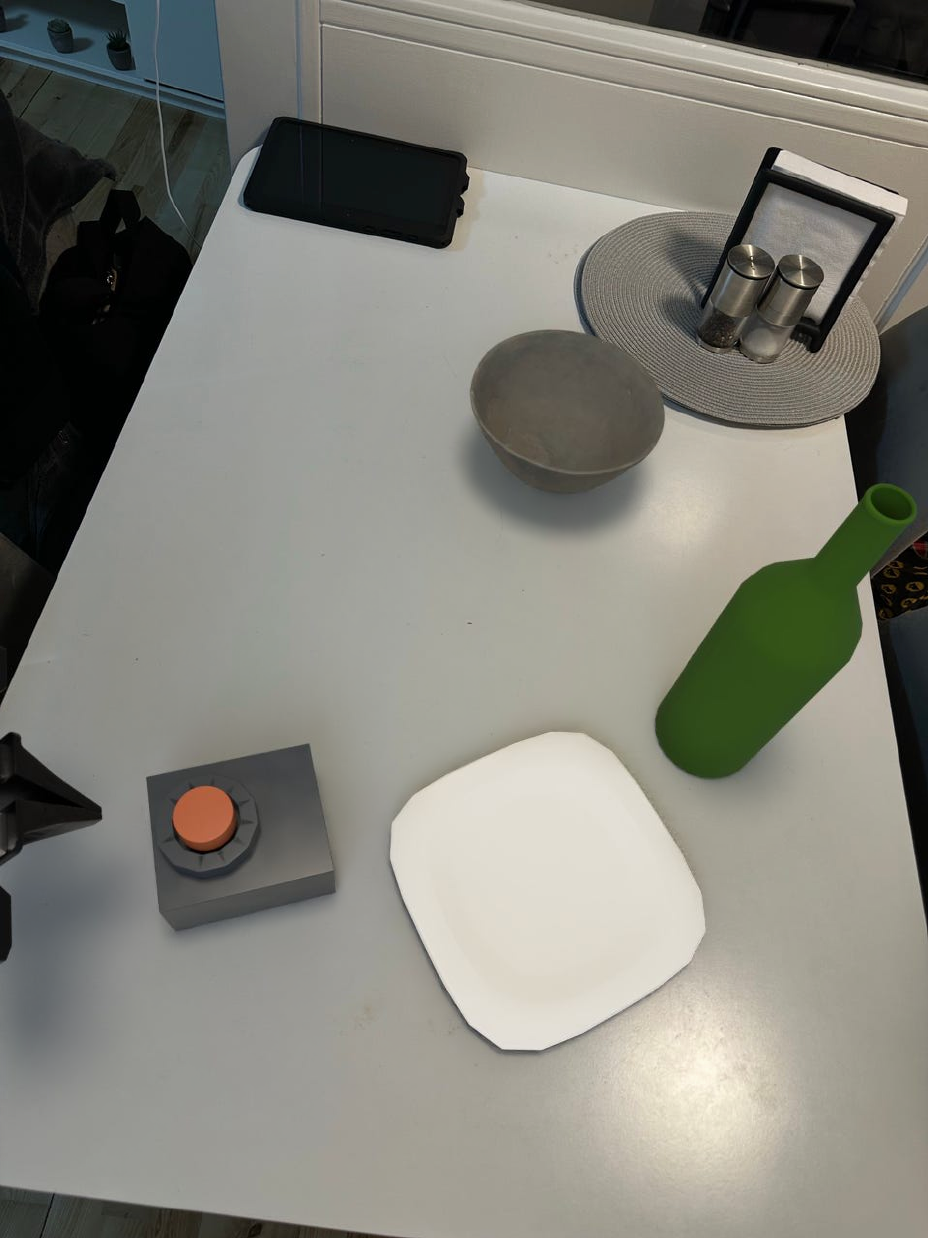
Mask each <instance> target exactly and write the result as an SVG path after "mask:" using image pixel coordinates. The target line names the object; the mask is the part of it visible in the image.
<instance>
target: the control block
mask: <svg viewBox="0 0 928 1238" xmlns="http://www.w3.org/2000/svg"><path fill="white" fill-rule="evenodd" d="M145 781H146V790H147V801H148V812H149V821H150V831H151V841H152V842H151V843H152V852H153V862H154V872H155V873H154V874H155V880H156V881H155V882H156V884H155V885H156V892H157V894H156V895H157V903H158V912H159V914H160V915H161V916H162V918H164V920H165V921H166V922H167V923H168V925H169V926H170V927H171V928H172V930H173V931H174V932H175V933H176V932H180V931H184V930H188V929H193V928H197V927H201V926H204V925H208V924H209V925H210V924H214V923H217V922H221V921H222V922H223V921H225V920H230V919H233V918H236V917H237V918H238V917H242V916H246V915H249V914H250V915H251V914H254V913H257V912H262V911H266V910H270V909H274V908H278V907H283V906H286V905H291V904H295V903H298V902H302V901H308V900H310V899H314V898H315V899H316V898H319V897H322V896H328V895H331V894H332V895H333V894H336V893H337V887H336V886H337V885H336V884H337V883H336V874H335V873H336V872H335V866H334V860H333V857H332V851H331V845H330V841H329V838H328V831H327V826H326V821H325V816H324V810H323V806H322V799H321V796H320V790H319V785H318V781H317V775H316V770H315V766H314V760H313V755H312V749H311V744H310V743H304V744H299V745H294V746H288V747H284V748H280V749H279V748H278V749H275V750H269V751H265V752H260V753H254V754H250V755H246V756H240V757H235V758H231V759H226V760H221V761H217V762H211V763H207V764H202V765H196V766H193V767H192V766H191V767H187V768H182V769H178V770H173V771H168V772H163V773H157V774H153V775H149V776H146V777H145ZM201 786H212V787H216V788H219V789H220V790H222V791H224V792H225V793H226V794H227V795H228V796H229V798H230V800H231V802H232V805H233V807H234V810H235V813H236V819H237V822H236V828H235V831H234V833H233V835H232V836H231V838H230V839H229V840H228V841H227V842H226V843H225V844H224V845H222V846H221V847H219V848H217V849H214V850H210V851H198V850H194V849H192V848H190V847H188V846H187V845H186V844H185V843H184V842H183V841H182V839H181V838H180V836H179V834H178V832H177V831H176V829H175V826H174V823H173V812H174V809H175V806H176V804H177V802H178V801H179V799H180V798H181V797H182V796H183V795H184V794H185V793H187V792H188V791H190V790H192V789H194V788H197V787H201Z"/></svg>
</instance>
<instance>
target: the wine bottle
mask: <svg viewBox="0 0 928 1238" xmlns="http://www.w3.org/2000/svg"><path fill="white" fill-rule="evenodd" d="M917 515H918V507H917V503H916V502H915V500H914V498H913V497H912V496H911V495H910V493H908V492H907V491H905V490H904V489H903V488H900V487H899V486H897V485H894V484H891V483H884V482H883V483H877V484H874V485H872V486H870V487H869V488H868V489H867V490H866V491H865V493H864V496H863V497H862V498H861V499H860V500H859V501H858V503H857V504H856V506H854V508H853V509H852V510H851V512H850V513H849V514H848V515H847V517H846V518H845V519H844V520H843V521H842V523H841V524H840V525H839V526H838V528H837V529H836V530H835V532H833V534H832V535H831V536H830V538H829V539H828V540H827V541H826V543H825V544H824V545H823V546H822V547H821V549H820V550H819V551H818V552H817V554H816V555H815V556H814V557H807V558H801V559H799V558H798V559H790V560H782V561H774V562H772V563H769V564H767V565H765V566H762V567H761V568H760V569H758V570H757V571H755V572H754V573H753V574H751V575H750V576H749V577H747V578H746V579H745V580H743V581H742V582H741V583H740V585H739V586H738V588H737V590H736V591H735V593H734V594H733V595H732V597H731V598H730V599H729V601H728V602H727V604H726V606H725V607H724V608H723V610H722V612H721V613H720V614H719V615H718V618H717V619H716V620H715V622H714V623H713V625H712V627H710V629H709V630H708V632H707V634H706V635H705V637H704V638H703V639H702V641H701V642H700V644H699V645H698V646H697V648H696V650H695V652H694V653H693V654H692V656H691V657H690V659H689V660H688V662H687V664H686V665H685V667H684V668H683V670H682V671H681V672H680V674H679V676H678V677H677V678H676V680H675V681H674V683H673V684H672V686H671V687H670V689H669V691H668V692H667V693H666V695H665V696H664V698H663V699H662V701H661V702H660V704H659V705H658V708H657V712H656V715H655V734H656V737H657V740H658V744H659V746H660V747H661V749H662V751H663V752H664V754H665V756H666V757H667V758H668V760H670V761H671V762H672V763H673V764H674V765H675V766H676V767H678V768H679V769H681V770H682V771H684V772H685V773H687V774H690V775H691V776H692V775H693V776H696V777H698V778H703V779H713V780H714V779H720V778H721V779H722V778H727V777H730V776H732V775H734V774H736V773H739V772H740V771H741V770H742V769H743V768H744V767H745V766H746V765H747V764H748V763H749V762H750V761H751V760H752V759H753V758H754V757H755V756H756V755H758V753H759V752H760V751H761V750H762V749H763V748H764V747H765V746H766V745H768V743H769V742H770V741H771V740H772V739H774V737H776V735H777V734H778V733H779V732H781V730H782V729H783V728H784V727H786V726H787V724H788V723H789V722H790V721H791V720H792V719H793V718H794V717H795V716H796V715H797V714H798V713H799V712H800V711H801V710H802V709H804V707H806V705H808V704H809V702H811V700H812V699H813V698H814V697H815V696H816V695H817V694H819V692H821V690H822V689H823V688H825V686H826V685H827V684H829V682H830V681H832V679H833V678H834V677H836V675H837V674H838V673H839V672H840V671H841V670H842V669H843V668H845V667H846V665H847V664H848V663H850V661H851V660H852V657H853V655H854V653H855V651H856V649H857V647H858V645H859V642H860V641H861V638H862V636H863V635H862V634H863V625H864V621H863V616H862V611H861V604H860V598H859V593H858V586H859V584H861V582H862V581H863V580H864V578H865V577H866V576H867V575H868V574H869V572H870V571H871V570H872V569H873V568H874V566H875V565H876V564H877V563H878V562H879V561H880V559H881V558H882V557H883V556H884V555H885V554H886V552H887V551H888V550H889V549H890V548H891V547H892V545H893V544H894V543H895V542H896V540H897V539H898V538H899V537H900V535H902V533H903V532H904V531H905V530H906V528H907V527H908V526H909V525H911V524H912V523H913V522H914V521H915V520H916V517H917Z"/></svg>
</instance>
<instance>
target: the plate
mask: <svg viewBox="0 0 928 1238" xmlns="http://www.w3.org/2000/svg"><path fill="white" fill-rule="evenodd" d="M390 828H391V830H390V846H389V847H390V849H389V860H390V861H389V862H390V864H391V868H392V871H393V873H394V876H395V880H396V883H397V885H398V889H399V892H400V894H401V898H402V901H403V903H404V905H405V907H406V909H407V911H408V913H409V916H410V918H411V920H412V922H413V925H414V926H415V929H416V931H417V933H418V935H419V938H420V940H421V942H422V944H423V946H424V948H425V950H426V952H427V954H428V956H429V958H430V960H431V962H432V964H433V966H434V969H435V971H436V973H437V975H438V977H439V979H440V980H441V983H442V984H443V986H444V988H445V989H446V991H447V993H448V994H449V996H450V998H451V999H452V1001H453V1002H454V1004H455V1005H456V1007H457V1009H458V1010H459V1012H460V1013H461V1015H462V1016H463V1018H464V1020H465V1021H466V1022H467V1024H468V1026H470V1027H471V1028H473V1029H474V1030H475V1031H477V1032H478V1033H479V1034H481V1035H482V1036H483V1037H484V1038H486V1039H488V1040H489V1041H490V1042H491V1043H492V1044H494V1045H495V1046H496V1047H498V1048H499V1049H500V1050H509V1051H510V1050H513V1051H517V1050H518V1051H519V1050H520V1051H544V1050H546V1049H548V1048H551V1047H553V1046H555V1045H558V1044H561V1043H562V1042H564V1041H568V1040H570V1039H572V1038H575V1037H577V1036H580V1035H582V1034H584V1033H586V1032H587V1031H589V1030H591V1029H593V1028H594V1027H596V1026H598V1025H599V1024H601V1023H603V1022H605V1021H606V1020H608V1019H609V1018H611V1017H613V1016H615V1015H618V1013H620V1012H622V1011H624V1010H625V1009H627V1008H629V1007H630V1006H632V1005H633V1004H635V1003H636V1002H638V1001H640V1000H641V999H643V998H644V997H646V996H648V995H649V994H652V993H653V992H654V991H656V990H657V989H659V988H660V987H662V985H664V984H665V983H666V982H668V981H669V980H670V979H672V977H674V976H675V975H676V974H678V972H680V971H681V970H683V968H684V967H686V966H687V965H688V964H689V963H691V961H692V959H693V957H694V955H695V953H696V952H697V949H698V947H699V945H700V943H701V941H702V939H703V937H704V935H705V933H706V931H707V927H706V926H707V925H706V920H705V911H704V903H703V895H702V891H701V889H700V887H699V885H698V883H697V881H696V879H695V877H694V875H693V873H692V871H691V869H690V867H689V865H688V863H687V861H686V858H685V856H684V854H683V853H682V851H681V849H680V847H679V846H678V845H677V843H676V841H675V840H674V838H673V836H672V835H671V833H670V832H669V829H668V827H666V825H665V823H664V822H663V820H662V819H661V817H660V815H659V814H658V812H657V811H656V809H655V808H654V806H653V805H652V803H651V802H650V799H649V798H648V797H647V796H646V794H645V793H644V791H643V789H642V788H641V786H640V785H639V783H638V782H637V780H636V779H635V778H634V777H633V776H632V774H631V773H630V771H629V770H628V769H627V768H626V767H625V766H624V764H623V763H622V762H621V760H620V759H619V758H618V757H617V755H615V753H614V752H613V751H612V750H611V749H609V748H608V747H607V746H604V745H603V744H601V743H600V742H598V741H596V740H595V739H593V738H592V737H590V736H589V735H587V734H586V733H584V732H568V731H548V732H544V733H542V734H538V735H535V736H532V737H529V738H526V739H522V740H519V741H516V742H514V743H512V744H509V745H507V746H504V747H503V748H501V749H498V750H496V751H494V752H491V753H489V754H487V755H484V756H482V757H479V758H478V759H476V760H473V761H472V762H469V763H467V764H465V765H463V766H461V767H459V768H456V769H455V770H453V771H450V772H448V773H447V774H445V775H443V776H442V777H439V778H438V779H436V780H435V781H433V782H431V783H429V784H428V785H427V786H426V787H424V788H422V789H421V790H419V791H418V792H416V793H414V794H413V795H411V797H410V798H409V799H408V801H407V802H406V803H405V805H404V806H403V808H402V809H401V810H400V811H399V813H398V814H397V815H396V817H395V818H394V820H393V821H392V822H391V827H390Z"/></svg>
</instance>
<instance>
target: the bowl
mask: <svg viewBox="0 0 928 1238" xmlns="http://www.w3.org/2000/svg"><path fill="white" fill-rule="evenodd" d="M657 384H658V383H657V382H656V381H655V379H654V377H653V376H652V375H651V373H650V372H649V371H648V370H647V369H646V367H645V366H644V365H643V364H642V363H641V362H640V361H639V360H638V359H637V358H635V357H634V356H633V355H631V354H630V353H628V352H627V351H626V350H624V349H622V348H621V347H619V346H618V345H616V344H614V343H611V342H609V341H607V340H605V339H603V338H601V337H598V336H596V335H591V334H588V333H584V332H579V331H573V330H567V329H552V328H551V329H537V330H531V331H525V332H522V333H518V334H516V335H512V336H510V337H508V338H505V339H504V340H502V341H500V342H498V343H497V344H495V345H494V346H493V347H492V348H490V349H489V350H488V351H487V352H486V353H485V354H484V355H483V357H482V358H481V359H480V361H479V362H478V364H477V365H476V368H475V370H474V373H473V375H472V378H471V382H470V388H469V399H470V407H471V411H472V413H473V415H474V418H475V420H476V422H477V424H478V426H479V428H480V431H481V432H482V433H483V435H484V437H485V439H486V441H487V443H488V445H489V447H490V448H491V451H493V453H494V455H495V456H496V457H497V459H498V460H500V462H501V463H502V464H503V465H504V466H505V467H506V469H508V470H509V471H510V472H511V473H512V474H513V475H514V476H515V477H517V478H518V479H519V480H521V481H522V482H523V483H524V484H526V485H528V486H530V487H531V488H534V489H536V490H540V491H543V492H547V493H553V494H559V495H571V494H578V493H583V492H587V491H590V490H593V489H595V488H598V487H600V486H603V485H605V484H606V483H609V482H611V481H612V480H614V479H616V478H618V477H620V476H621V475H623V474H624V473H626V472H627V471H629V470H630V469H632V468H633V467H636V466H637V465H639V464H640V463H641V462H643V461H644V460H645V459H646V458H647V457H648V456H649V455H650V454H651V452H652V451H653V450H654V449H655V447H656V446H657V444H658V443H659V441H660V439H661V436H662V434H663V431H664V427H665V423H666V413H665V412H666V411H665V406H664V400H663V397H662V394H661V391H660V389H659V386H658V385H657Z"/></svg>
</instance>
